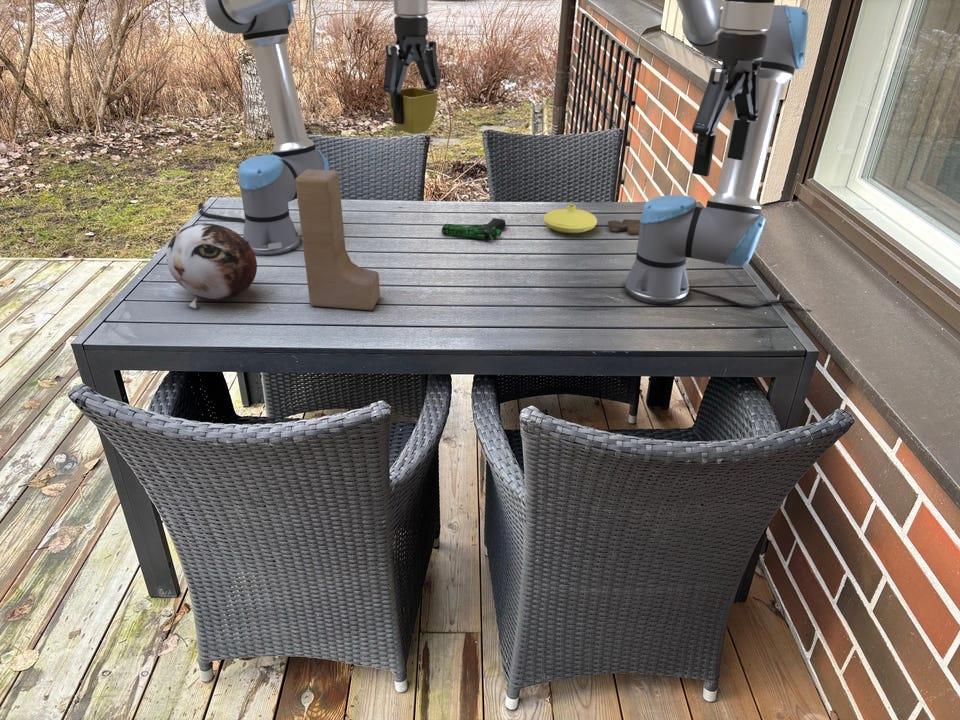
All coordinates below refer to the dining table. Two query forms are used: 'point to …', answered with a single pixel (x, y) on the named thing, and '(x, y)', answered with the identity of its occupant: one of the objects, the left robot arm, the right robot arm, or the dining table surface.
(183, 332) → the dining table surface
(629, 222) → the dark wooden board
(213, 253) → the cat face balloon
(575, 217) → the yellow knobbed lid
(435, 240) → the dining table surface
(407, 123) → the square tapered planter
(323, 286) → the decorative block
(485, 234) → the handgun
